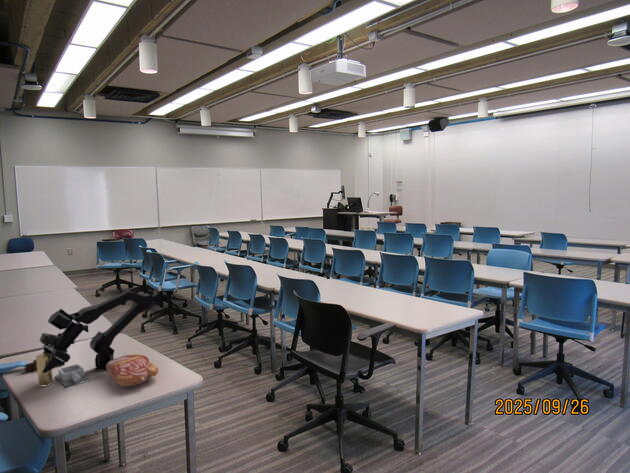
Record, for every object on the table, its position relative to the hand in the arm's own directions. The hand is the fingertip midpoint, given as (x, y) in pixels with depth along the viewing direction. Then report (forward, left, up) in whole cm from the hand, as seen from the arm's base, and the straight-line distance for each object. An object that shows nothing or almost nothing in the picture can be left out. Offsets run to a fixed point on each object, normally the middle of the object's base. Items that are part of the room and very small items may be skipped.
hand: (40, 369), depth 171 cm
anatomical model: (-34, -5, -7) cm, 35 cm away
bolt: (+9, -18, -7) cm, 21 cm away
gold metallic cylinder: (-1, -1, -7) cm, 7 cm away
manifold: (-9, -6, -7) cm, 13 cm away
